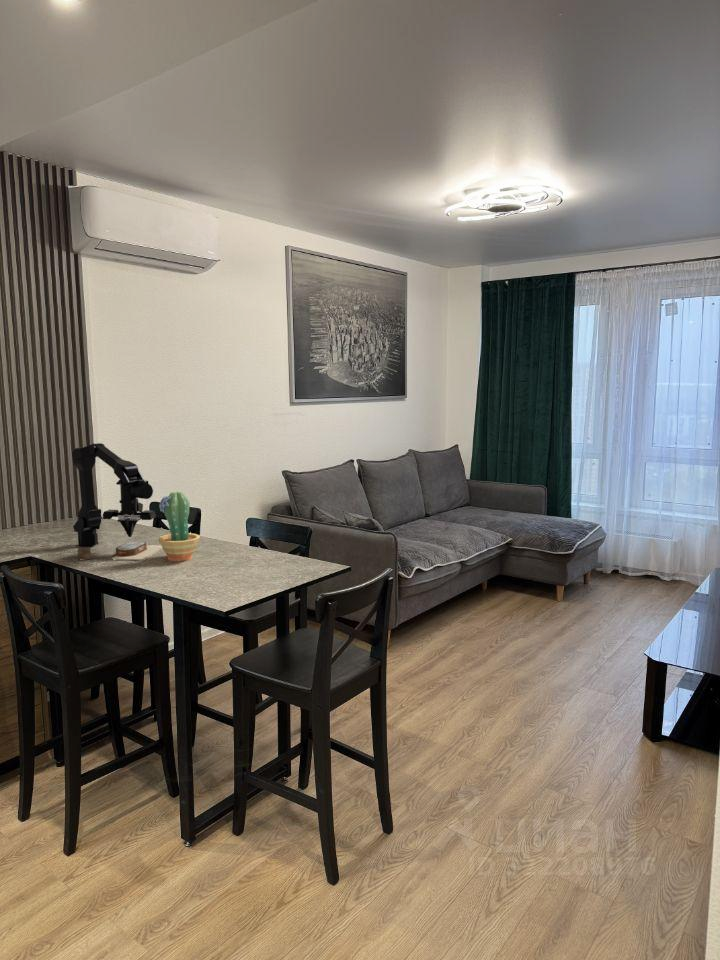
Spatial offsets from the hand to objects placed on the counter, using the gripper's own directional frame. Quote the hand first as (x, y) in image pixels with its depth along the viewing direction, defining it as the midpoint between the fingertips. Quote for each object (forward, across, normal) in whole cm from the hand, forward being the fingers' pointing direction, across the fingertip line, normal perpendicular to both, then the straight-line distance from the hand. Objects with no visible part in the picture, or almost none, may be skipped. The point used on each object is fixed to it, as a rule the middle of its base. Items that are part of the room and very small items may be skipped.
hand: (130, 536), depth 254 cm
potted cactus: (+7, -22, +6) cm, 23 cm away
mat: (+6, -4, 0) cm, 7 cm away
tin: (+4, +4, 0) cm, 6 cm away
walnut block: (+7, +14, +10) cm, 18 cm away
